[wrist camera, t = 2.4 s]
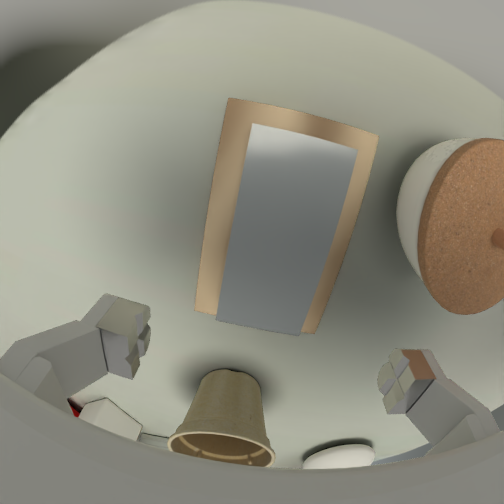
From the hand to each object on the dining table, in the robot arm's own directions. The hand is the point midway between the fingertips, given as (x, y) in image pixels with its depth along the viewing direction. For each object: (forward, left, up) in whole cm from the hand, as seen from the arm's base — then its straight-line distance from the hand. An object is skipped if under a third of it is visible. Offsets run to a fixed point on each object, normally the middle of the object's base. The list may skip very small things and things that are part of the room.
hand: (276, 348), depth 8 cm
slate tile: (0, 0, -12) cm, 12 cm away
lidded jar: (-12, -5, -13) cm, 18 cm away
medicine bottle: (+16, +33, -13) cm, 39 cm away
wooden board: (0, 0, -13) cm, 13 cm away
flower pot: (0, +18, -13) cm, 22 cm away
